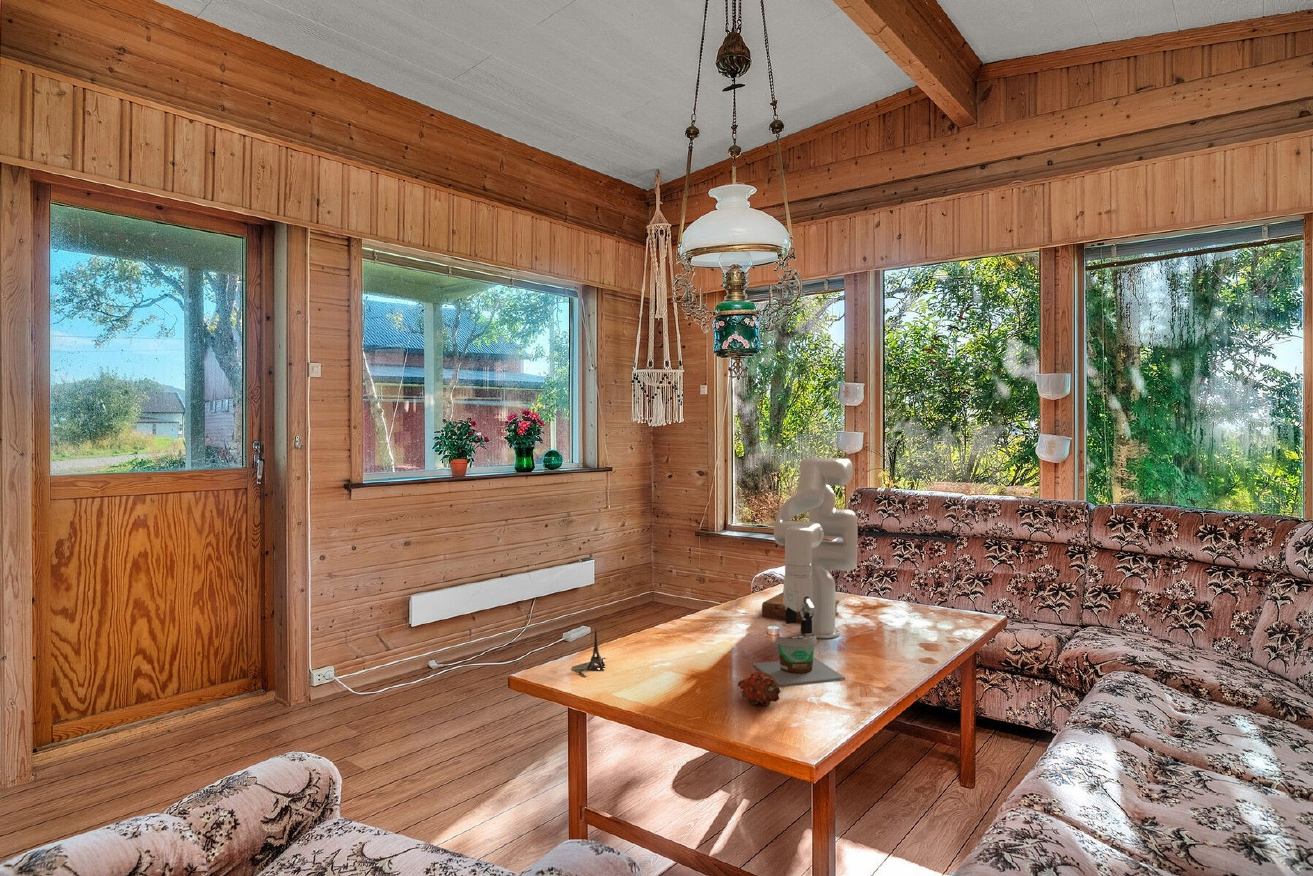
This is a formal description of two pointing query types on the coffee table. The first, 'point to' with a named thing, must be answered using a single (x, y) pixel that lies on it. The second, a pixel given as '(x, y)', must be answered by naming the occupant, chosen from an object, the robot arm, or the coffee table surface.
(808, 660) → the food container
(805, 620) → the robot arm
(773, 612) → the brown flat wooden box
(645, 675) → the coffee table surface
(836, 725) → the coffee table surface
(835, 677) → the mat
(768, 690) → the dragon fruit
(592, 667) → the eiffel tower figurine
